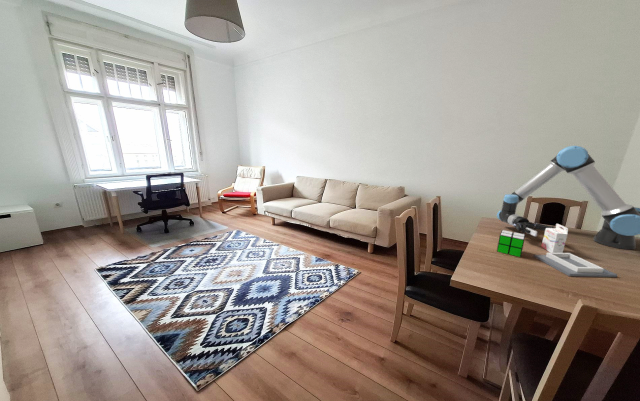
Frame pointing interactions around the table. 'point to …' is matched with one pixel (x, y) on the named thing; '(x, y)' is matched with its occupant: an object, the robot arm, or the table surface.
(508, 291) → the table surface
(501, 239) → the puzzle cube
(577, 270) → the cartridge dock
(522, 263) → the table surface
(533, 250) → the table surface
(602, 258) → the table surface
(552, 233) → the ink cartridge box
